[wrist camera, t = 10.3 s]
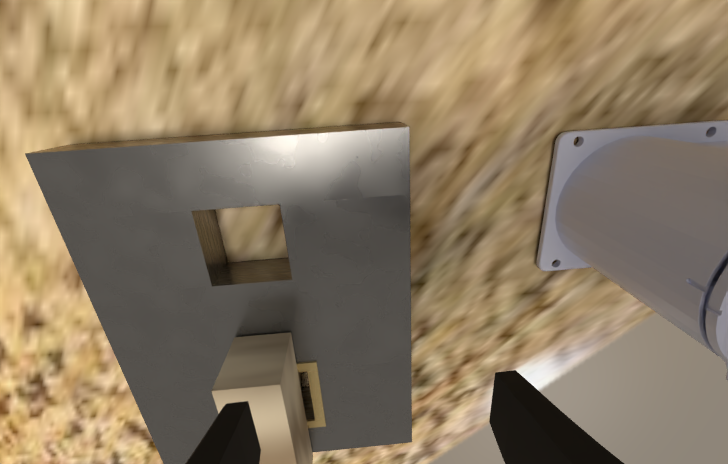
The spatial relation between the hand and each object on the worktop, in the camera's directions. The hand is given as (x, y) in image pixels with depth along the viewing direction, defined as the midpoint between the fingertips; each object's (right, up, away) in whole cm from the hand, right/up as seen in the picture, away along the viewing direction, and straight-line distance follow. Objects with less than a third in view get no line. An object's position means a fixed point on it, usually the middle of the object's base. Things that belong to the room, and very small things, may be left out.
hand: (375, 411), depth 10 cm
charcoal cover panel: (-6, +1, +11) cm, 12 cm away
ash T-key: (-6, -4, +12) cm, 14 cm away
